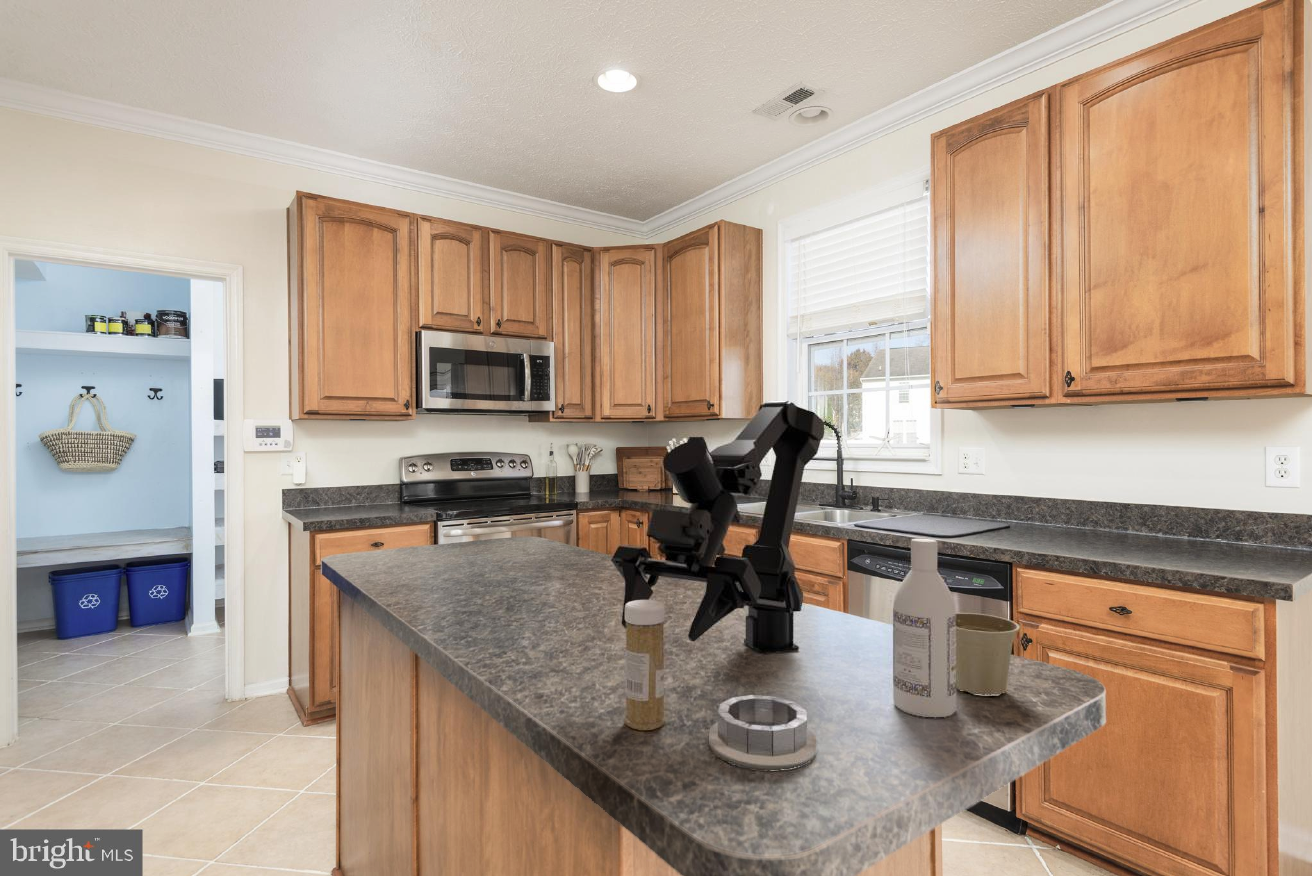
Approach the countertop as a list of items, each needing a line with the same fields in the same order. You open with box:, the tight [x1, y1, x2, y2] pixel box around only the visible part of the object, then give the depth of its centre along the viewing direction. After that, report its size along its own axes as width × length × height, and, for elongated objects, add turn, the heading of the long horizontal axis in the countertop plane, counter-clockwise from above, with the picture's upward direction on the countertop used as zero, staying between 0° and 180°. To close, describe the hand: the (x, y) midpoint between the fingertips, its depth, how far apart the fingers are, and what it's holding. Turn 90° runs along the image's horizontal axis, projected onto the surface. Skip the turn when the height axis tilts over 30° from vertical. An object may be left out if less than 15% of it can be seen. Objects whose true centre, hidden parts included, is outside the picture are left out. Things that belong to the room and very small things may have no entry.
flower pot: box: [956, 612, 1021, 695], centre depth 85 cm, size 9×9×9 cm
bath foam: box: [892, 538, 957, 719], centre depth 79 cm, size 7×7×20 cm
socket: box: [708, 694, 818, 772], centre depth 69 cm, size 11×11×4 cm
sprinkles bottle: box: [624, 599, 666, 731], centre depth 75 cm, size 5×5×14 cm
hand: (656, 632), depth 76 cm, fingers open, 9 cm apart
